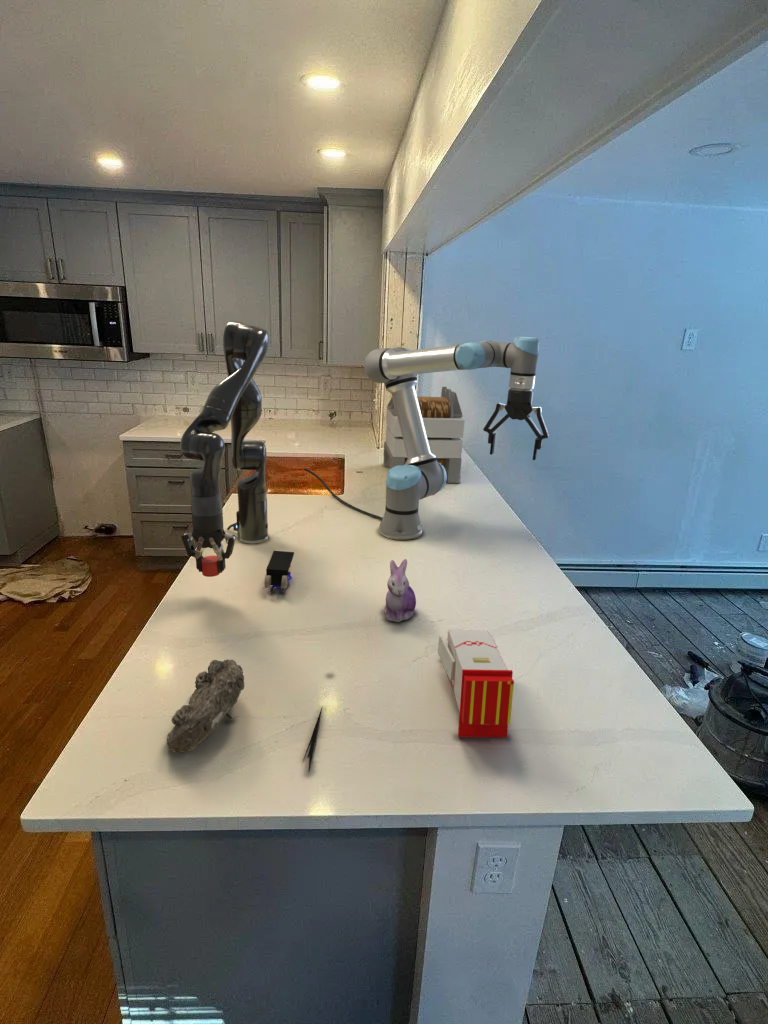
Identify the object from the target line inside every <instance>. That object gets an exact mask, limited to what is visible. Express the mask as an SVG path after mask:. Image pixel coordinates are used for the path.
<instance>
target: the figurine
mask: <svg viewBox="0 0 768 1024" xmlns="http://www.w3.org/2000/svg"><path fill="white" fill-rule="evenodd" d="M407 567H408V559H406V558H404V559H403V560H402V561H401V563H400V565H399V566H398V565H397V563H396V562H395V561H394V560H393V559H391V560H390V561H389V570H390V576H389V578H388V579H387V589H388V591H387V592H386V594H385V595H386V596H385V607H384V615H385V616H386V620H387V621H391V622H395V623H400V622H402V621H406V620H409V619H410V618H411V617H413V616H414V615H415V610H416V606H417V597H416V593H415V591H414V590H413V587H411V586H410V582H409V579H408V577H407V574H406V571H407Z"/></svg>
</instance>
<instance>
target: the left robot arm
mask: <svg viewBox="0 0 768 1024" xmlns="http://www.w3.org/2000/svg"><path fill="white" fill-rule="evenodd" d="M269 346H270V334H269V332H268V330H266V329H265V328H262V327H260V326H256V325H252V324H249V323H245V322H241V321H237V320H230V321H229V322H227V323H226V325H225V327H224V329H223V334H222V348H223V356H224V362H225V367H226V374H227V377H225V378H224V379H222V380H221V381H220V382H219V383H217V384H216V385H215V386H214V387H213V389H212V390H211V391H210V392H209V395H208V396H207V398H206V401H205V403H204V405H203V407H202V409H201V412H200V413H199V414H198V415H197V416H196V417H195V419H194V420H193V421H192V422H191V423H190V424H189V426H188V427H187V428H186V429H185V431H184V433H183V434H182V436H181V439H180V441H179V442H180V443H179V448H180V452H181V454H182V455H183V457H184V458H186V459H189V460H194V461H202V462H203V467H202V468H196V469H194V470H192V471H191V473H190V474H189V483H190V497H191V498H190V511H191V525H192V531H191V532H188V531H187V532H184V533H183V534H182V535H181V540H182V543H183V546H184V549H185V551H186V554H187V556H188V557H193V558H194V559H195V568H196V569H197V570H198V572H199V573H202V563H201V559H202V558H203V557H204V555H203V553H204V551H205V549H212V550H213V553H215V556H217V557H218V573H220V574H222V573H223V572H224V571H225V570H226V559H230V557H231V556H232V554H233V552H234V548H235V543H236V540H237V539H238V540H239V541H241V542H242V543H244V544H260V543H264V542H266V541H267V540H269V521H268V519H269V518H268V491H267V490H268V489H267V487H268V486H267V447H266V444H265V442H264V441H262V440H245V438H246V436H248V433H250V432H251V430H252V429H254V427H255V426H256V425H257V423H258V422H259V420H260V419H261V416H262V413H263V410H262V409H263V406H262V405H263V403H262V401H263V399H262V393H261V390H260V389H259V386H258V385H257V383H256V382H255V380H254V377H255V376H256V373H257V372H258V370H259V369H260V367H261V366H262V363H263V362H264V360H265V358H266V357H267V354H268V350H269ZM229 424H230V429H231V430H230V431H231V434H230V436H231V440H230V441H231V442H230V459H231V464H232V467H233V468H234V469H235V470H236V471H254V472H253V473H252V474H250V475H249V476H246V477H243V478H241V479H240V480H238V481H237V485H236V486H237V504H238V505H237V506H238V510H237V511H236V512H235V515H236V522H234V523H232V524H229V526H228V527H227V528H226V530H227V531H230V529H231V528H232V529H233V532H236V534H237V535H235V534H231V535H230V534H226V531H225V529H224V512H223V511H224V510H223V498H222V494H221V479H220V478H221V473H222V467H223V462H224V458H225V454H226V445H225V442H224V439H223V438H222V436H221V435H220V434H218V433H216V432H217V431H219V432H220V431H223V430H225V429H227V428H228V426H229ZM193 540H195V542H196V543H197V545H196V548H195V545H194V543H193ZM223 540H225V543H226V549H224V545H223V543H222V542H223Z"/></svg>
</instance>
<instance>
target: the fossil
mask: <svg viewBox="0 0 768 1024" xmlns="http://www.w3.org/2000/svg"><path fill="white" fill-rule="evenodd" d="M243 670H244V669H243V667H242V665H240V664H237V662H236V661H235V660H234V659H232V658H231V659H227V658H226V659H224V660H223V661H222V660H217V659H212V660H211V661H210V663H209V665H208V666H207V671H201V672H199V673H198V674H197V675H196V676H195V680H194V684H195V685H194V687H195V689H194V690H193V693H192V694H191V697H190V698H189V700H188V704H184V705H182V706H181V707H180V709H177V710H176V711H175V713H174V715H173V716H172V718H171V723H172V724H173V727H172V730H171V731H170V732H168V734H167V738H166V741H167V742H166V745H167V749H168V750H169V751H173V752H174V753H176V754H178V753H182V752H188V751H189V752H192V751H193V750H195V748H196V747H197V746H199V744H200V743H201V742H203V741H204V740H205V739H206V738H207V737H208V736H209V735H210V734H211V733H212V732H214V730H215V729H217V727H218V726H219V724H220V722H221V721H222V720H223V719H224V718H225V716H226V717H227V719H229V720H233V717H232V715H230V714H229V710H230V709H231V708H234V706H235V704H236V703H237V702H238V699H239V697H240V695H241V693H242V691H243V690H245V689H244V688H245V675H244V671H243Z"/></svg>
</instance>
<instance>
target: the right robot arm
mask: <svg viewBox="0 0 768 1024" xmlns="http://www.w3.org/2000/svg"><path fill="white" fill-rule="evenodd" d="M539 349H540V340H539V338H538V337H533V336H530V337H529V336H515V338H514V339H513V342H505V341H504V342H503V341H495V340H481V341H479V342H477V341H476V342H475V341H469V342H465V343H460V344H450V345H442V346H435V347H434V346H433V347H426V348H418V349H410V348H407V347H401V346H397V347H385V348H384V347H381V348H376V349H373V350H371V351H370V352H369V353H367V355H366V357H365V359H364V363H363V368H364V372H365V374H366V376H367V377H368V378H369V380H371V381H372V382H374V383H377V384H384V387H385V391H387V392H388V393H390V394H391V398H393V402H394V406H395V410H396V414H397V418H398V422H399V426H400V430H401V434H402V438H403V442H404V445H405V449H406V453H407V457H408V459H407V461H406V463H405V465H402V466H401V465H398V466H395V467H393V468H391V469H390V468H389V470H388V471H387V474H386V479H385V504H384V505H385V507H384V508H385V509H384V513H383V515H382V516H380V515H377V514H374V513H371V512H369V511H365V510H363V509H361V508H359V507H356V506H355V505H352V504H350V503H348V502H347V501H345V500H343V499H342V498H340V496H338V495H336V494H335V493H334V492H333V491H332V490H331V488H329V486H328V485H327V484H326V482H325V481H324V480H323V479H322V478H321V477H320V476H319V475H318V474H316V473H315V472H314V471H312V470H310V469H308V468H305V467H304V468H303V470H304V471H305V472H307V473H309V474H311V475H312V476H314V477H315V478H316V479H317V480H319V482H320V483H321V484H322V485H323V486H324V487H325V489H326V490H327V491H328V492H329V493H330V495H332V496H333V497H334V498H335V499H336V500H338V502H340V503H342V504H343V505H345V506H347V507H349V508H351V509H353V510H355V511H357V512H359V513H362V514H364V515H367V516H369V517H372V518H375V519H378V520H381V522H379V526H378V533H379V534H380V535H381V536H382V537H385V538H387V539H389V540H395V541H410V540H415V539H418V538H420V537H421V536H422V535H423V525H422V524H421V518H420V515H419V507H420V506H419V505H420V500H423V499H425V498H428V497H430V496H434V495H436V494H438V493H439V492H441V491H442V490H443V489H444V488H445V486H446V483H447V481H446V480H447V474H446V470H445V468H444V467H443V466H442V465H441V464H440V463H439V462H437V458H436V456H435V455H434V454H432V453H431V452H430V448H429V444H428V440H427V436H426V432H425V428H424V424H423V419H422V415H421V411H420V407H419V403H418V399H417V391H416V386H417V384H418V377H417V376H418V375H421V374H431V373H433V374H434V373H441V372H443V373H444V372H453V371H466V370H468V371H469V370H470V371H471V370H477V369H484V368H504V369H505V368H506V369H510V374H509V383H508V388H509V389H508V391H507V397H506V398H507V399H506V403H505V404H504V403H502V402H497V404H496V405H495V409H494V411H493V413H492V415H491V416H490V417H489V419H488V421H487V423H486V424H485V425H484V427H483V428H482V430H483V432H486V433H487V435H488V437H487V444H490V448H489V455H491V456H492V455H493V454H494V453H495V445H496V436H497V435H496V433H497V432H495V431H496V430H498V428H499V427H501V426H502V425H503V424H504V423H505V422H506V421H507V420H508V419H509V418H510V419H511V420H518V421H523V420H524V421H525V422H526V423H527V425H528V426H529V428H531V431H532V432H533V433H534V435H535V436H536V437H535V439H534V447H533V454H532V461H536V459H537V456H538V455H537V454H538V450H541V449H542V444H543V440H544V439H548V438H549V437H550V433H549V430H548V427H547V425H546V422H545V419H544V417H543V413H542V411H543V409H542V408H543V407H542V406H533V398H534V397H533V396H534V391H533V390H534V388H535V382H536V372H537V365H538V358H539V354H540V351H539ZM503 409H504V410H505V412H506V414H505V415H504V416H503V417H502V418H501V419H500V420H499V421H498V422H497V423H496V424H494V426H493V427H491V426H492V424H493V423H494V421H495V420H496V418H497V416H498V415H499V413H500V412H501V411H503ZM532 412H533V413H534V415H536V418H537V421H538V424H539V426H540V428H541V431H540V429H539V428H538V426H537V425H536V424H535V422H534V421H533V418H532V417H531V415H530V414H531V413H532Z"/></svg>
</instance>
